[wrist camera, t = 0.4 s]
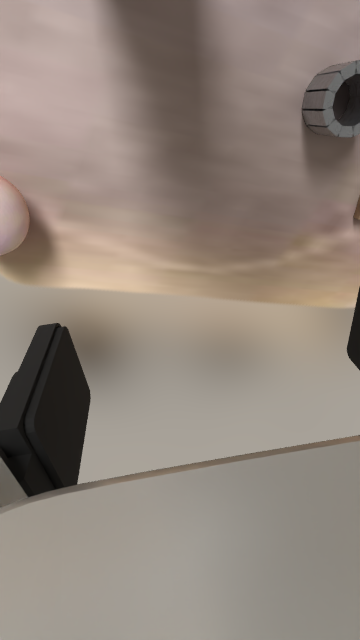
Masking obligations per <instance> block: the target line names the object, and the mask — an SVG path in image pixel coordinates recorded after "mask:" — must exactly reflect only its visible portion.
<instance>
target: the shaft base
mask: <svg viewBox="0 0 360 640" xmlns="http://www.w3.org/2000/svg"><path fill="white" fill-rule="evenodd" d="M354 218H356V219H358V220H360V197H359V200H358V203H357V207H356V210H355V213H354Z"/></svg>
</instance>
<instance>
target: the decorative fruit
mask: <svg viewBox="0 0 360 640" xmlns="http://www.w3.org/2000/svg"><path fill="white" fill-rule="evenodd" d="M29 223H30V217H29V211H28V208H27V205H26V202H25V200H24V198H23V196H22V195H21V193H20V192H19V190H18V189H17V188H16V187H15V186H14V185H13V184H11V183H10V182H9V181H8V180H6V179H5V178H3V177H2V176H0V256H1V255H4V254H6V253H9V252H11V251H13V250H14V249H16V248H17V247H18V246H19V245H20V244H21V243H22V242H23V241H24V239H25V237H26V235H27V233H28V229H29Z"/></svg>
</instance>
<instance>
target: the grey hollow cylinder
mask: <svg viewBox="0 0 360 640" xmlns="http://www.w3.org/2000/svg"><path fill="white" fill-rule="evenodd" d="M344 81H345V82H346V83H347V84H348V87H349V92H350V99H349V103H348V107H347V109H346V111H345V112H344V113H343V115H342V116H341V117H340V119H338V120H335V117H334V112H333V108H332V106H333V102H334V98H335V93H336V92H337V90H338V89H339V87H340V86H341V84H342V83H343V82H344ZM306 91H307V92H305V94H304V100H303V105H302V109H304V110H302V113H303V116H304V120H305V124H307V126H308V127H309V128H310V129H311V130H312V131H314V132H315V133H317V134H322V135H329V136H335V137H354V136H356V135H358V134H360V60H357V61H352V62H347V63H343V64H338V65H333V66H330V67H328V68H326V69H325V70H323V71H321V72H320V73H318V74H317V76H315V77H314V78H313V80H312V81H311V83H310V85H309V86H308V88H307V89H306Z"/></svg>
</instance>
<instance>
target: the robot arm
mask: <svg viewBox="0 0 360 640" xmlns="http://www.w3.org/2000/svg"><path fill="white" fill-rule="evenodd" d="M347 353H348V356H349V358H350V359H351V361H352V362H353V363H354V364H355V365H356V366H357V368H358V369H359V370H360V288H359V292H358V297H357V302H356V307H355V312H354V317H353V322H352V326H351V331H350V336H349V341H348V346H347ZM89 405H90V390H89V387H88V384H87V381H86V378H85V375H84V373H83V370H82V367H81V364H80V361H79V359H78V356H77V353H76V351H75V348H74V345H73V342H72V339H71V336H70V334H69V331H68V329H67V327H61V325H60V324H59V323H54V324H47V325H41V326H39V327H38V328H37V330H36V333H35V335H34V337H33V340H32V342H31V344H30V346H29V348H28V350H27V353H26V355H25V357H24V359H23V362H22V364H21V366H20V368H19V370H18V372H16V373H15V374H14V375H13V377H12V379H11V381H10V383H9V385H8V388H7V390H6V392H5V394H4V396H3V398H2V401H1V403H0V640H360V435H358V436H352V437H345V438H339V439H333V440H327V441H321V442H316V443H309V444H303V445H297V446H292V447H285V448H280V449H274V450H268V451H262V452H256V453H250V454H245V455H238V456H233V457H227V458H221V459H215V460H210V461H204V462H198V463H192V464H186V465H180V466H175V467H170V468H164V469H157V470H152V471H146V472H140V473H135V474H130V475H125V476H120V477H114V478H109V479H104V480H98V481H94V482H88V483H83V484H78V485H77V482H78V475H79V469H80V463H81V456H82V450H83V444H84V437H85V431H86V425H87V419H88V412H89Z"/></svg>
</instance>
